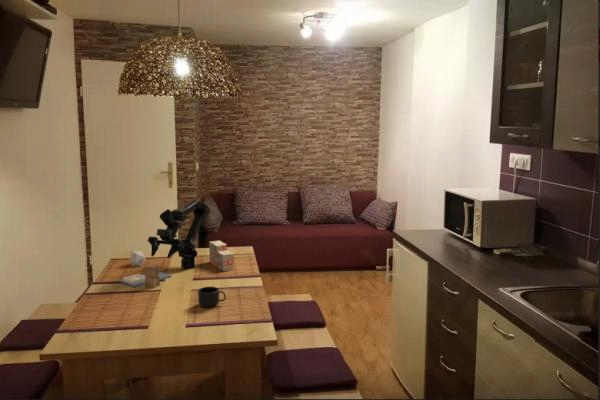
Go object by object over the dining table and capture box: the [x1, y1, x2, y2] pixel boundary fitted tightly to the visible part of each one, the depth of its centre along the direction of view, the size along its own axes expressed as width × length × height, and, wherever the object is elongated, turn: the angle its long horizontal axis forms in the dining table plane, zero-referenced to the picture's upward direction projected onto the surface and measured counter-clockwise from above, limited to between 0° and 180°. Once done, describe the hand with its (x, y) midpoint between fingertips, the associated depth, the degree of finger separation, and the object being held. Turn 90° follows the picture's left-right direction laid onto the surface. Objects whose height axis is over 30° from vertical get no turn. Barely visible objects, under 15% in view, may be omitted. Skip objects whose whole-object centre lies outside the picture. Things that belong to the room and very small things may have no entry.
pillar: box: [144, 264, 161, 289], centre depth 249 cm, size 5×5×10 cm
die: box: [128, 250, 146, 267], centre depth 284 cm, size 8×9×10 cm
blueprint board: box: [118, 271, 173, 288], centre depth 260 cm, size 22×14×2 cm, turn 141°
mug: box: [197, 286, 227, 308], centre depth 224 cm, size 12×9×7 cm
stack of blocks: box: [208, 240, 234, 272], centre depth 283 cm, size 21×6×12 cm, turn 29°
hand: (159, 257), depth 254 cm, fingers open, 9 cm apart
